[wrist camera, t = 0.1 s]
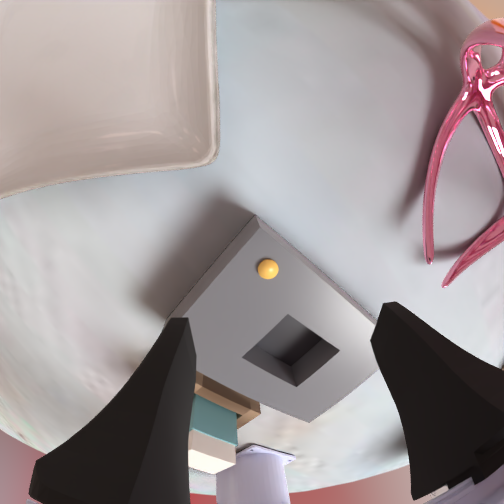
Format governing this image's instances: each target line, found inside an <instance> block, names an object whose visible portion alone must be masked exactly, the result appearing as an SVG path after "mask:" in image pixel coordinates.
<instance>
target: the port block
mask: <svg viewBox="0 0 504 504" xmlns="http://www.w3.org/2000/svg"><path fill="white" fill-rule="evenodd" d="M171 317H188V318H189V323H190V328H191V332H192V337H193V342H194V346H195V351H196V355H197V359H196V371H198V372H200V373H202V374H204V375H205V376H207V377H209V378H211V379H213V380H215V381H217V382H219V383H220V384H222V385H224V386H226V387H228V388H230V389H232V390H234V391H236V392H238V393H240V394H243V395H245V396H247V397H249V398H251V399H253V400H255V401H257V402H260V403H262V404H264V405H266V406H269V407H271V408H273V409H276V410H278V411H280V412H283V413H285V414H288V415H290V416H293V417H295V418H298V419H300V420H303V421H306V422H308V423H310V422H311V421H312V420H314V419H315V418H317V417H318V416H320V415H321V414H323V413H324V412H325V411H327V410H328V409H330V408H331V407H332V406H334V405H335V404H336V403H338V402H339V401H340V400H342V399H343V398H344V397H346V396H347V395H348V394H349V393H351V392H352V391H353V390H354V389H356V388H357V387H358V386H359V385H361V384H362V383H363V382H364V381H365V380H367V379H368V378H369V377H370V376H371V375H372V374H374V373H375V372H376V371H377V370H378V369H379V366H378V364H377V362H376V359H375V355H374V352H373V349H372V346H371V342H370V339H371V336H372V334H373V331H374V328H375V326H376V323H377V320H376V319H374V318H373V317H372V316H371V315H370V314H369V313H368V312H367V311H366V310H365V309H364V308H362V307H361V306H360V305H359V304H358V303H357V302H356V301H355V300H354V299H352V298H351V297H350V296H349V295H348V294H347V293H346V292H345V291H344V290H342V289H341V288H340V287H339V286H338V285H337V284H336V283H335V282H333V281H332V280H331V279H330V278H329V277H328V276H327V275H325V274H324V273H323V272H322V271H321V270H320V269H319V268H317V267H316V266H315V265H314V264H313V263H312V262H311V261H309V260H308V259H307V258H306V257H305V256H304V255H302V254H301V253H300V252H299V251H298V250H297V249H295V248H294V247H293V246H292V245H291V244H290V243H288V242H287V241H286V240H285V239H284V238H283V237H281V236H280V235H279V234H278V233H277V232H275V231H274V230H273V229H272V228H271V227H269V226H268V225H267V224H266V223H265V222H264V221H262V220H261V219H260V218H259V217H258V216H256V215H254V217H253V218H252V219H251V220H250V221H249V222H248V223H247V225H246V226H245V227H244V228H243V229H242V230H241V232H240V233H239V234H238V235H237V236H236V237H235V238H234V240H233V241H232V242H231V243H230V244H229V245H228V247H227V248H226V249H225V250H224V251H223V253H222V254H221V255H220V256H219V257H218V258H217V260H216V261H215V262H214V263H213V264H212V265H211V267H210V268H209V269H208V270H207V271H206V273H205V274H204V275H203V276H202V277H201V279H200V280H199V281H198V282H197V283H196V284H195V286H194V287H193V288H192V289H191V290H190V292H189V293H188V294H187V295H186V296H185V298H184V299H183V300H182V301H181V303H180V304H179V305H178V306H177V307H176V309H175V310H174V311H173V312H172V313H171V315H170V316H169V317H168V318H167V320H166V321H165V324H164V327H165V326H166V324H167V322H168V321H169V319H170V318H171ZM164 327H163V329H164ZM162 331H163V330H162Z"/></svg>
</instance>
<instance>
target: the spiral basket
mask: <svg viewBox="0 0 504 504" xmlns="http://www.w3.org/2000/svg"><path fill="white" fill-rule="evenodd" d="M482 45H494V46H499V47H502V56H501V59H500V61H499V62H498V63H497V64H496V65H495V66H493V67H491V68H488V69H484V68H483V67H482V63H481V48H482ZM460 68H461V73H462V78H463V85H462V89H461V91H460V93H459V95H458V97H457V98H456V100H455V102H454V103H453V105H452V106H451V108H450V110H449V111H448V113H447V115H446V117H445V119H444V121H443V123H442V125H441V127H440V129H439V132H438V134H437V137H436V140H435V143H434V146H433V149H432V152H431V156H430V160H429V164H428V169H427V175H426V181H425V188H424V197H423V215H422V232H423V248H424V256H425V260H426V262H427V263H428V264H431V263H432V262H433V257H434V238H433V216H434V202H435V194H436V187H437V182H438V177H439V173H440V169H441V165H442V162H443V159H444V156H445V153H446V151H447V148H448V146H449V143H450V141H451V139H452V137H453V135H454V133H455V131H456V130H457V128H458V126H459V125H460V123H461V122H462V120H463V119H464V118H465V116H466V115H467V114H468V113H470V112H474V113H475V114H476V116H477V118H478V120H479V122H480V125H481V127H482V129H483V132H484V134H485V136H486V139H487V141H488V143H489V145H490V148H491V150H492V152H493V155H494V157H495V159H496V161H497V164H498V166H499V168H500V171H501V173H502V175H503V178H504V131H503V129H502V126H501V124H500V121H499V119H498V116H497V114H496V111H495V108H494V105H493V101H492V96H493V93H494V91H495V90H496V89H497V88H499V87H501V86H504V18H496V19H492V20H489V21H486V22H484V23H482V24H480V25H479V26H477V27H476V28H475V29H474V30H473V31H472V32H471V33H470V34H469V35H468V36H467V37H466V39H465V41H464V42H463V44H462V47H461V51H460ZM503 241H504V216H503V217H501V218H500V219H499V220H498V221H496V222H495V223H494V224H493V225H492V226H490V227H489V228H488V229H487V230H486V231H485V232H484V233H482V234H481V235H480V236H479V237H478V238H477V239H476V240H475V241H474V242H473V243H472V244H471V245H470V246H469V247H468V248H467V249H466V250H465V251H464V252H463V254H462V255H461V256H460V257H459V258H458V259H457V261H456V262H455V263H454V265H453V266H452V267H451V269H450V270H449V272H448V273H447V275H446V276H445V278H444V280H443V282H442V285H441V286H442V288H445V287H447V286H449V285H450V284H451V283H452V282H453V281H454V280H455V279H456V278H457V277H458V276H459V275H460V274H461V273H462V272H463V271H464V270H466V269H467V268H468V267H469V266H470V265H472V264H473V263H474V262H475V261H477V260H478V259H479V258H481V257H482V256H483V255H485V254H486V253H487V252H489V251H490V250H491V249H493V248H494V247H496V246H497V245H498V244H500V243H501V242H503Z"/></svg>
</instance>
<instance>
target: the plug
mask: <svg viewBox="0 0 504 504" xmlns="http://www.w3.org/2000/svg"><path fill="white" fill-rule="evenodd" d="M237 445H238V440H237V418H236V413H235V412H233V411H231V410H229V409H226V408H224V407H222V406H220V405H218V404H216V403H213V402H211V401H209V400H207V399H205V398H203V397H201V396H199V395H197V394H195V393H194V398H193V405H192V413H191V420H190V428H189V439H188V466H189V467H192V468H195V469H198V470H201V471H204V472H207V473H210V474H215V473H218V472H220V471H222V470H224V469H227V468H229V467H231V466H233V465H235V464H236V451H235V447H236V446H237Z"/></svg>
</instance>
